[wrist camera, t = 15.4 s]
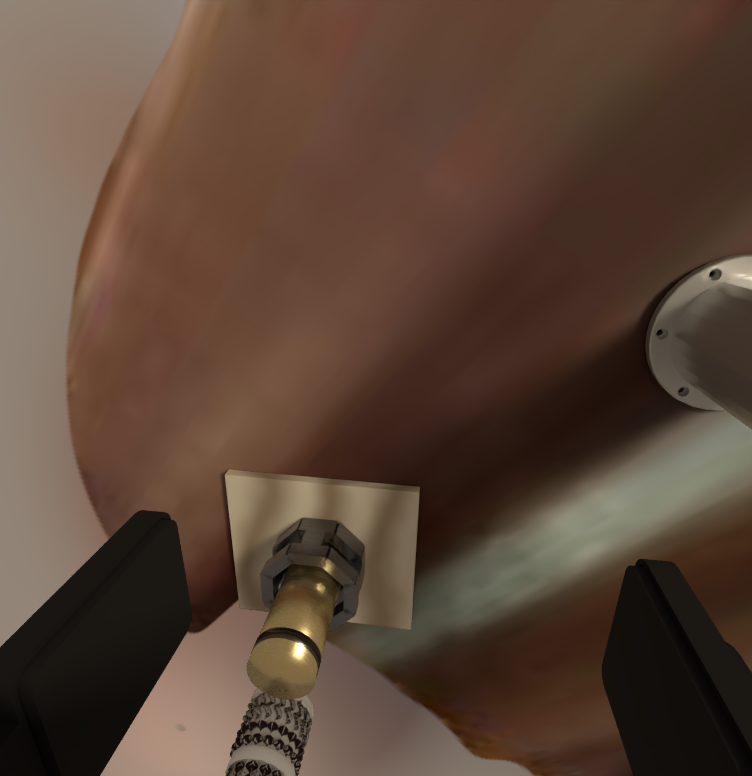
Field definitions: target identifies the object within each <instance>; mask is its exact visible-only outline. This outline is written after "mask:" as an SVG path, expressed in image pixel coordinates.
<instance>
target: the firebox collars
mask: <svg viewBox="0 0 752 776" xmlns="http://www.w3.org/2000/svg"><path fill="white" fill-rule="evenodd" d="M301 540H302V541H301ZM300 541H301V543H298V542H300ZM326 542H330V543H331V544H332V545H333V546H335V547H336V548H337V549H338V550H339V551H340V552H341V553H342V554H343V555H344V556H345V557H346V558H348V559H349V560H350V564H349V563H348V562H347V561H346V560H344V559H343V558H342V557H341V556H340V555H339V554H338V553H337V552H336V551H335V550H334V549H333V548H330V549H329V546H325V543H326ZM272 555H273V556H272V557H271V558H270V559H269V560H267V561H266V563H265V565H264V567H263V569H262V571H261V573H260V581H261V592H262V603H264V606H266V607H267V608H268V609H269V610H270V609H271V607H272V604H273V602H274V600H275V598H276V595H277V593H278V591H279V585H280V584H282V581H283V579H284V577H285V574H286V572H287V570H288V567H289V565H291V564H299V565H308V566H317V567H322V568H323V569H325V570H326V571H327V572H328V573H329V574H330V575H331V576H332V577H333V578H334V579H336V580H337V581H338V582H339V583H340V584H341V587H340V590H339V594H338V598H337V602H336V606H335V609H334V613H333V616H332V620H331V624H330V627H329V631H328V632H331V631H333V630H334V629H336V628H337V627H339V626H340V625H342V624H344V623H345V622H347V621H348V620H350V619H351V618H353V617H354V616H355V614H356V612H357V607H358V603H359V592H360V589H361V587H362V584H363V580H364V575H365V546H364V544H363V543H362V542H361V541H360V540H359V539H358V538H357V537H356V536H355V535H354V534H353V533H352V532H350V531H349V530H348V529H347V528H346V527H345V526H344V525H343V524H342V523H341V522H339V523H338V521H336V520H326V519H316V518H306V517H304V518H303V519H302V518H301V519H299V520H298V521H297V522H296V523H294V524H293V525H292V526H291V527H289V528H288V529H287V530H285V531H284V532H283V533H282V534H280V535H279V537H278V539H277V541H276V543H275V545H274V547H273V549H272Z"/></svg>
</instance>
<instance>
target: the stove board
mask: <svg viewBox="0 0 752 776" xmlns="http://www.w3.org/2000/svg"><path fill="white" fill-rule="evenodd" d="M225 481H226V490H227V499H228V508H229V517H230V526H231V535H232V544H233V553H234V562H235V571H236V580H237V589H238V598H239V607H240V608H241V609H249V610H257V611H265V612H269V611H270V610H269V609H268V608H267V607H266V606H264V603H262V592H261V581H260V573H261V571H262V569H263V567H264V565H265V563H266V561H267V560H269V559H270V558H271V557H272V556H273V555H272V549H273V547H274V545H275V543H276V541H277V539H278V537H279V535H280V534H282V533H283V532H284V531H285V530H287V529H288V528H289V527H291V526H292V525H293V524H294V523H296V522H297V521H298V520H299V519H301V518H302V519H303V518H304V517H306V518H316V519H326V520H336V521H338V523H339V522H341V523H342V524H343V525H344V526H345V527H346V528H347V529H348V530H349V531H350V532H352V533H353V534H354V535H355V536H356V537H357V538H358V539H359V540H360V541H361V542H362V543H363V544H364V546H365V575H364V580H363V584H362V587H361V589H360V592H359V603H358V607H357V612H356V614H355V616H354V617H353V618H351V619H350V620H348V621H347V622H352V623H360V624H368V625H376V626H384V627H392V628H399V629H407V630H411V624H412V608H413V591H414V575H415V559H416V543H417V526H418V510H419V494H420V487H415V486H404V485H393V484H382V483H371V482H360V481H349V480H338V479H327V478H316V477H305V476H294V475H283V474H272V473H261V472H250V471H239V470H228V471H227V473H226V474H225ZM298 543H299V542H298ZM347 562H348V563H349V564H350V560H349V559H348V560H347ZM280 586H281V584H280V585H279V588H280ZM335 606H336V605H335Z"/></svg>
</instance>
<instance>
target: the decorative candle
mask: <svg viewBox="0 0 752 776" xmlns="http://www.w3.org/2000/svg"><path fill="white" fill-rule="evenodd" d="M248 708H249V710H248V711H246V715H245V716H243V720H244V722H243V723H242V724H241V729H240V730H239V731H238V732H237V738H236V742H235V743H234V744H233V745H232V751H231V753H230V756H231V759H230V762H229V764H228V767H227V769H226V772H225V773H226V776H298V774H299V769H300V767H301V764H300V762H301V761H302V758H303V756H302V755H303V754H304V749H303V748H305V746H306V744H307V740H308V736H309V732H310V728H311V725H312V718H313V716H314V707H313V704H312V702H311V701H310V699H309V697H308V696H307V695H305V696H304V697H301V698H298V699H292V700H286V699H279V698H275V697H272V696H269V695H267V694H265V693H264V692H262V691H261V690H259V689H258V688H257V689H256V690H255V691H254V694H253V696H252V699H251V703H250V704H248ZM242 734H243V735H242Z"/></svg>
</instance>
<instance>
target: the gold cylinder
mask: <svg viewBox="0 0 752 776" xmlns="http://www.w3.org/2000/svg"><path fill="white" fill-rule="evenodd" d="M301 541H302V540H301ZM301 541H300V542H299V543H301ZM325 546H329V549H330V548H333V549H334V550H335V551H336V552H337V553H338V554H339V555H340V556H341V557H342V558H343V559H344V560H346V561H347V560H348V558H346V557H345V556H344V555H343V554H342V553H341V552H340V551H339V550H338V549H337V548H336V547H335V546H333V545H332V544H331V543H330V542H326V543H325ZM340 587H341V584H340V583H339V582H338V581H337V580H336V579H334V578H333V577H332V576H331V575H330V574H329V573H328V572H327V571H326V570H325V569H323V568H322V567H317V566H308V565H299V564H291V565H289V567H288V570H287V572H286V574H285V577H284V579H283V581H282V584H281V586H280V588H279V591H278V593H277V595H276V598H275V600H274V602H273V604H272V607H271V609H270V611H269V614H268V616H267V619H266V621H265V623H264V625H263V628H262V630H261V632H260V635H259V637H258V638H257V640H256V643H255V645H254V647H253V650H252V652H251V656H250V658H249V661H248V663H247V673H248V676H249V678H250V680H251V681H252V683H253V684H254V685H255V686H256V687H257V688H258V689H259V690H261V691H262V692H264V693H265V694H267V695H269V696H272V697H275V698H279V699H286V700H292V699H298V698H301V697H304V696H305V695H307V694H308V693H309V692H310V691H311V690H312V688H313V686H314V682H315V679H316V676H317V674H318V670H319V667H320V663H321V657H322V653H323V649H324V646H325V642H326V638H327V635H328V631H329V627H330V624H331V620H332V616H333V613H334V609H335V605H336V602H337V598H338V594H339V590H340Z"/></svg>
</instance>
